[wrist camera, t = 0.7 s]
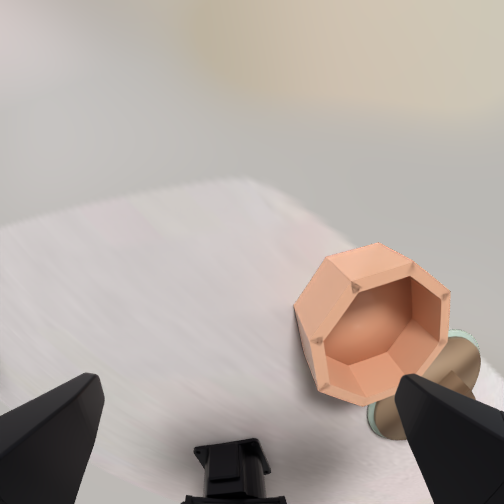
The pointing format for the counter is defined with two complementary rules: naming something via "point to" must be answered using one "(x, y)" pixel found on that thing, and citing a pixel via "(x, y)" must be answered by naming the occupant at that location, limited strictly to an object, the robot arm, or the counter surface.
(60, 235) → the counter surface
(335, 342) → the terracotta bowl
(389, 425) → the walnut lid
